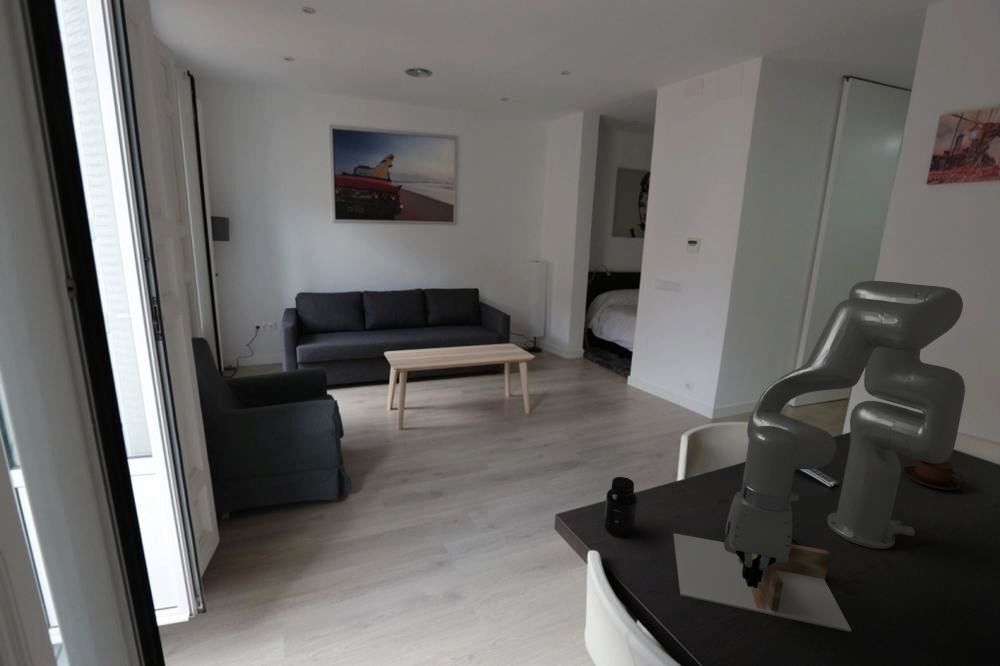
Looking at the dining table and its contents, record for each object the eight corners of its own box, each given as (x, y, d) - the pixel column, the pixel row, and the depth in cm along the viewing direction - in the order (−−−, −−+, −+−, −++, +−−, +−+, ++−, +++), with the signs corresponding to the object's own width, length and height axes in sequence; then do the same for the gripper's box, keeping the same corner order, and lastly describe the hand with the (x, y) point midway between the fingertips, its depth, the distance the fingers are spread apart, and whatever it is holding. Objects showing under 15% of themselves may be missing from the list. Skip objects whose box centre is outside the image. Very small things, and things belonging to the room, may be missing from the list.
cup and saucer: (953, 479, 134) (958, 460, 133) (965, 499, 124) (970, 478, 123) (899, 468, 141) (903, 449, 139) (906, 485, 131) (911, 465, 129)
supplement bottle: (598, 529, 109) (602, 482, 106) (612, 516, 114) (616, 471, 111) (626, 542, 104) (630, 493, 102) (639, 528, 109) (644, 481, 107)
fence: (821, 574, 96) (827, 544, 94) (825, 582, 93) (832, 552, 92) (738, 558, 100) (743, 529, 98) (740, 566, 97) (745, 536, 96)
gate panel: (746, 565, 97) (750, 539, 95) (752, 566, 96) (756, 540, 95) (771, 610, 85) (776, 582, 84) (778, 611, 85) (783, 582, 84)
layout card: (813, 560, 100) (814, 558, 100) (852, 632, 82) (852, 630, 82) (673, 534, 107) (673, 532, 107) (680, 595, 89) (680, 593, 89)
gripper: (804, 491, 86) (789, 577, 90) (716, 477, 90) (705, 560, 94) (819, 514, 79) (801, 606, 83) (723, 498, 83) (710, 587, 87)
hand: (750, 582), depth 89 cm, fingers closed
